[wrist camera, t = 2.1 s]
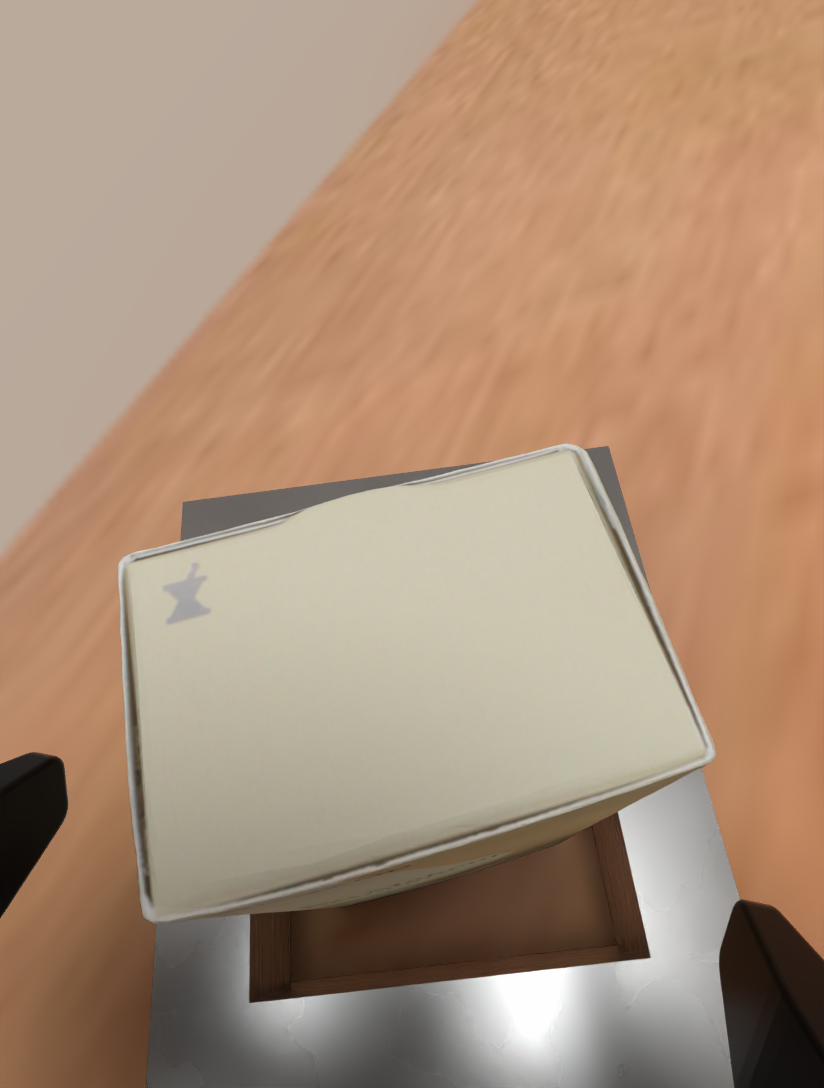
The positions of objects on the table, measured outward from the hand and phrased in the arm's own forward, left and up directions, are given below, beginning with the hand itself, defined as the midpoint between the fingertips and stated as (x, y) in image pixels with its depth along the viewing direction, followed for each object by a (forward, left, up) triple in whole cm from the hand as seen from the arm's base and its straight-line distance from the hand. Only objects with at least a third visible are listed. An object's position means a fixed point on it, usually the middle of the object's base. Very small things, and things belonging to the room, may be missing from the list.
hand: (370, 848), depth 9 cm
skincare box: (+2, -1, -10) cm, 10 cm away
